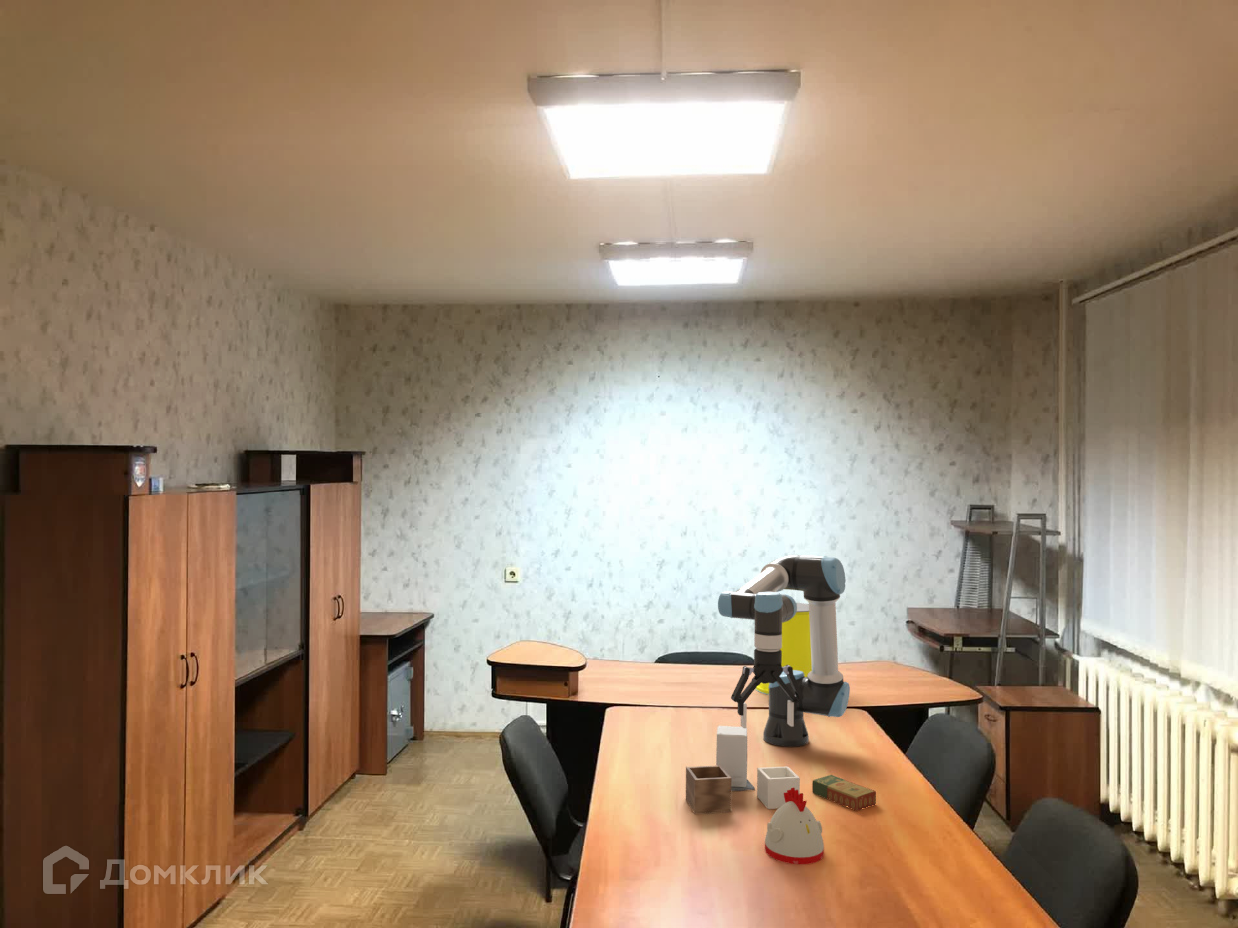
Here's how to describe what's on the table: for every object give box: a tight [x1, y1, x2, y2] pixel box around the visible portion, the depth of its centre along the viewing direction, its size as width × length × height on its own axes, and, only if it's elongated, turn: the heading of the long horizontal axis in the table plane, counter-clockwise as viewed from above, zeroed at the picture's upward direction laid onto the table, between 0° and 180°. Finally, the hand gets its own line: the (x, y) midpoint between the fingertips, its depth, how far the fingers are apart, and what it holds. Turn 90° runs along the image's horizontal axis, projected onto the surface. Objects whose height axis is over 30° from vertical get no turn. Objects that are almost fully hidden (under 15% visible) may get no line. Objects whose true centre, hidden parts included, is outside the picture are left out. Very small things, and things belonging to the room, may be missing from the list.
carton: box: [811, 774, 877, 811], centre depth 238 cm, size 8×16×4 cm, turn 35°
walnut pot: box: [685, 765, 732, 815], centre depth 232 cm, size 10×10×9 cm
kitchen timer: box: [764, 788, 825, 865], centre depth 204 cm, size 14×14×15 cm
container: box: [755, 602, 812, 696], centre depth 359 cm, size 26×26×35 cm
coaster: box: [731, 779, 756, 792], centre depth 248 cm, size 11×11×1 cm
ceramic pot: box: [756, 766, 801, 810], centre depth 235 cm, size 9×9×8 cm
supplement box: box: [715, 725, 748, 788], centre depth 248 cm, size 9×9×15 cm
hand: (767, 726), depth 234 cm, fingers open, 13 cm apart
